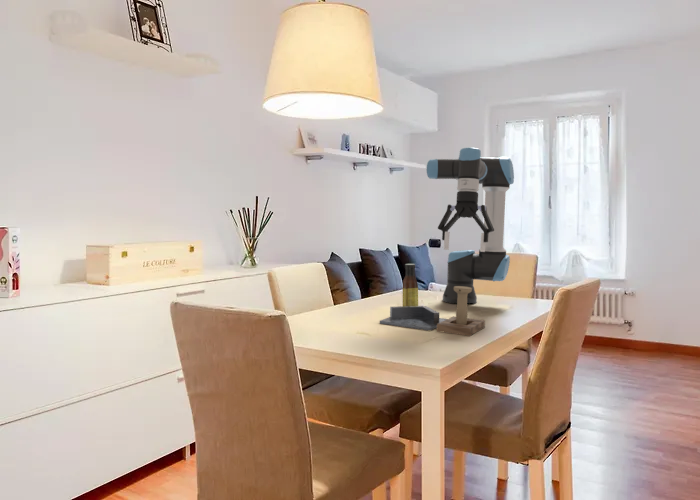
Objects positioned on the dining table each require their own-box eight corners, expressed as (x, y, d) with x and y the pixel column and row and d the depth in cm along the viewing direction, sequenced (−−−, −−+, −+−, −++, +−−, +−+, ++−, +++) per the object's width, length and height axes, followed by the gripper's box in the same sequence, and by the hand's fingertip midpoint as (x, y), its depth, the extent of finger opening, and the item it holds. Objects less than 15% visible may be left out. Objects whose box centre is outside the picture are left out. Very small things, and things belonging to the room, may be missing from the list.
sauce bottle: (420, 313, 230) (422, 264, 229) (413, 315, 225) (415, 265, 223) (406, 311, 234) (407, 262, 232) (398, 313, 229) (400, 264, 227)
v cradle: (401, 315, 225) (401, 302, 225) (449, 321, 215) (449, 308, 214) (379, 323, 210) (380, 310, 209) (430, 330, 199) (430, 316, 199)
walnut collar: (453, 322, 213) (453, 316, 213) (484, 327, 207) (485, 320, 207) (436, 331, 199) (437, 324, 199) (470, 335, 193) (470, 328, 193)
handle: (466, 331, 199) (468, 289, 198) (449, 328, 203) (451, 287, 202) (472, 329, 203) (474, 287, 202) (456, 326, 207) (457, 285, 206)
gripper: (431, 190, 208) (427, 248, 208) (499, 190, 195) (495, 252, 195) (439, 192, 214) (435, 249, 214) (505, 192, 201) (501, 252, 201)
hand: (464, 250), depth 205 cm, fingers open, 13 cm apart
